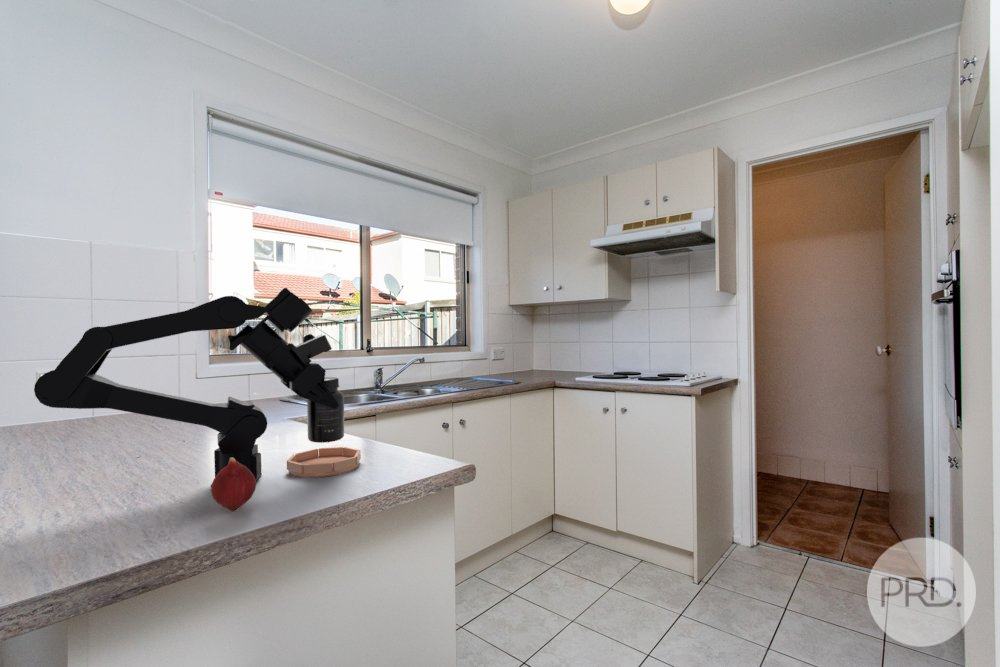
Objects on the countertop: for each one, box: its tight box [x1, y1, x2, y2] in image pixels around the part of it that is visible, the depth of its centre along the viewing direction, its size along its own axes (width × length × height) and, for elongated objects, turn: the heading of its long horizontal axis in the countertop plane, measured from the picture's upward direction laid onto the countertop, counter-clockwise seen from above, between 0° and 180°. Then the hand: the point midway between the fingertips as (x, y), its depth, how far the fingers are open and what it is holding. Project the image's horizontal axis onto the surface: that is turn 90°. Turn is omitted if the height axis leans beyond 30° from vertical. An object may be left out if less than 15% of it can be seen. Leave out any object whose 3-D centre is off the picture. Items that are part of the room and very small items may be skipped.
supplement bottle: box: [306, 376, 345, 444], centre depth 94 cm, size 7×7×12 cm
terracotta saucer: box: [286, 446, 362, 479], centre depth 94 cm, size 13×13×2 cm
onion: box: [210, 458, 257, 512], centre depth 72 cm, size 6×6×8 cm
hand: (333, 404), depth 94 cm, fingers closed on supplement bottle, 6 cm apart
